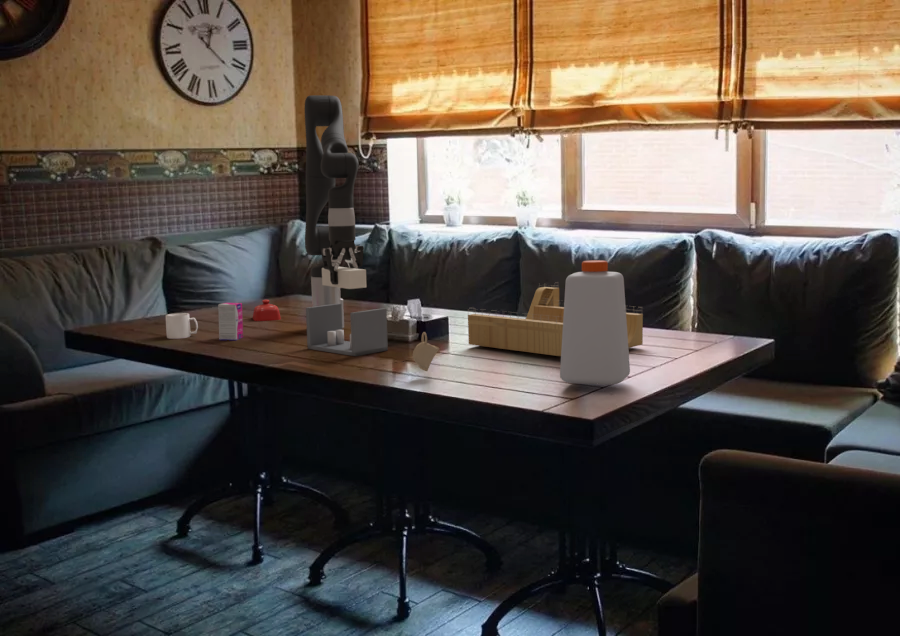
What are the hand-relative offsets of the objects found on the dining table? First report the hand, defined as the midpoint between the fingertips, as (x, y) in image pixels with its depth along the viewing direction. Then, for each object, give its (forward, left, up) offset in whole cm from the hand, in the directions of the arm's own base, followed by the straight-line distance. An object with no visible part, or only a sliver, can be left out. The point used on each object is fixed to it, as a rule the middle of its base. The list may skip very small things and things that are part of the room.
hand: (344, 283), depth 289 cm
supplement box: (+10, -44, -19) cm, 49 cm away
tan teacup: (+9, +42, -19) cm, 47 cm away
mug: (+17, -60, -19) cm, 66 cm away
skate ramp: (-43, +44, -20) cm, 65 cm away
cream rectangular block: (0, 0, -1) cm, 1 cm away
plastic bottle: (-8, +82, -19) cm, 85 cm away
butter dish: (-20, -67, -20) cm, 72 cm away
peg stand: (0, 0, -19) cm, 19 cm away
